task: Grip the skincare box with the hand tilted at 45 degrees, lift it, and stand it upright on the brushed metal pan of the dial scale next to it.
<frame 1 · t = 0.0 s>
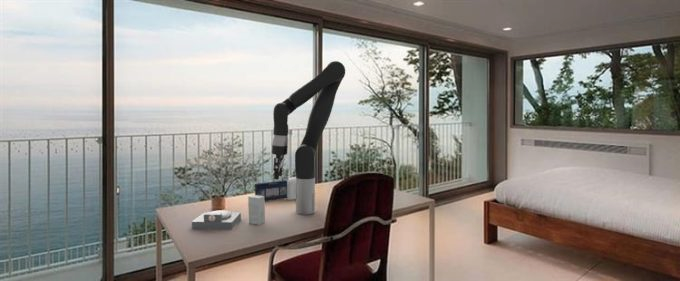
hand: (278, 177, 185), 17 cm above the table, tool pointing down, fingers open, 8 cm apart
vhs cassette tape: (271, 200, 210), on the table
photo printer: (295, 199, 213), on the table
skincare box: (256, 223, 170), on the table
scale: (217, 223, 168), on the table
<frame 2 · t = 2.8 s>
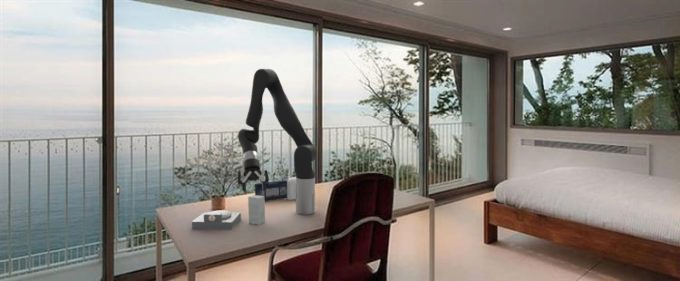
hand: (254, 190, 176), 13 cm above the table, tool tilted 45°, fingers open, 8 cm apart
nothing on the table moved.
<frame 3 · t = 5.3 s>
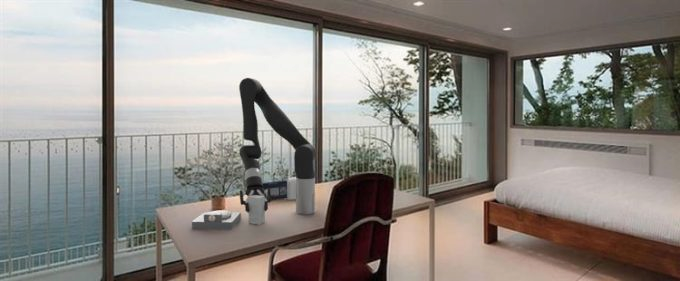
hand: (257, 211, 168), 6 cm above the table, tool tilted 45°, fingers closed on skincare box, 7 cm apart
skincare box: (256, 223, 170), on the table, touching gripper
everything else where it was.
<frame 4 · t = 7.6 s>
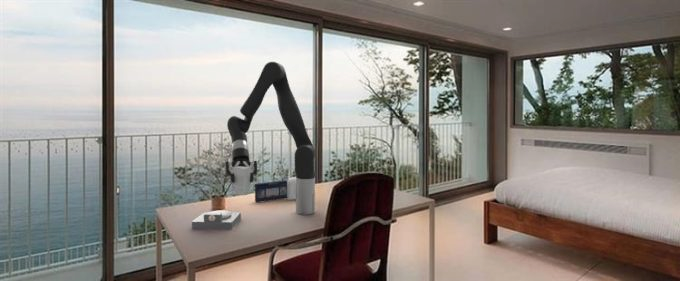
hand: (242, 181, 167), 19 cm above the table, tool tilted 45°, fingers closed on skincare box, 7 cm apart
skincare box: (242, 194, 169), point 13 cm above the table, touching gripper
everything else where it was.
when the fingers open (11 cm above the table, at t = 10.3 s): skincare box drops 1 cm, resting on scale.
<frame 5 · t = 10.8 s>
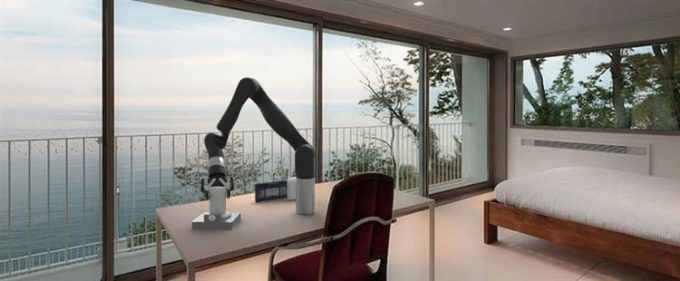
hand: (218, 198, 167), 11 cm above the table, tool tilted 45°, fingers open, 8 cm apart
skincare box: (218, 214, 170), point 4 cm above the table, touching scale
everything else where it was.
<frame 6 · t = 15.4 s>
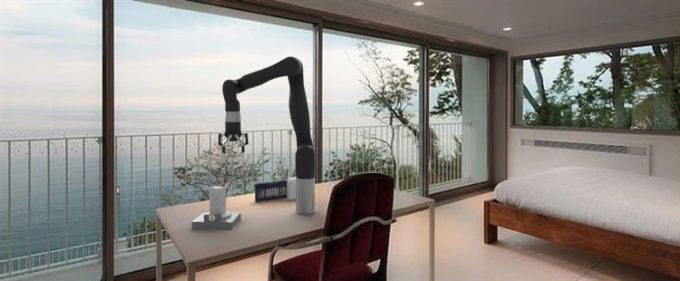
hand: (233, 153, 188), 28 cm above the table, tool pointing down, fingers open, 8 cm apart
nothing on the table moved.
at the end: skincare box inside the target area on the scale (0.2 cm from its centre), point 3.8 cm above the scale's base; skincare box tilted 0°; the gripper is holding nothing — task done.
